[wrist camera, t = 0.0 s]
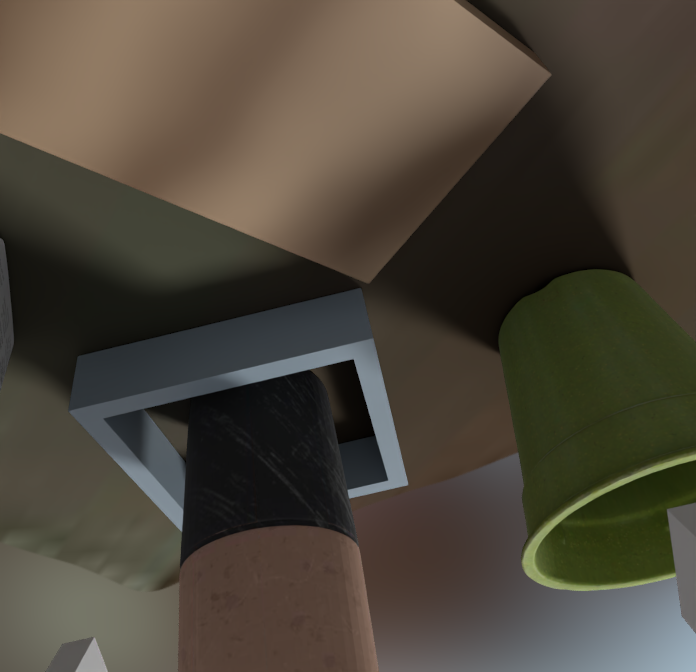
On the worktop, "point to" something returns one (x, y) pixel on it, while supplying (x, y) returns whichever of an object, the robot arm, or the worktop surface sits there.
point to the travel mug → (269, 536)
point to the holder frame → (227, 372)
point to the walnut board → (270, 108)
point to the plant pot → (600, 429)
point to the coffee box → (5, 315)
